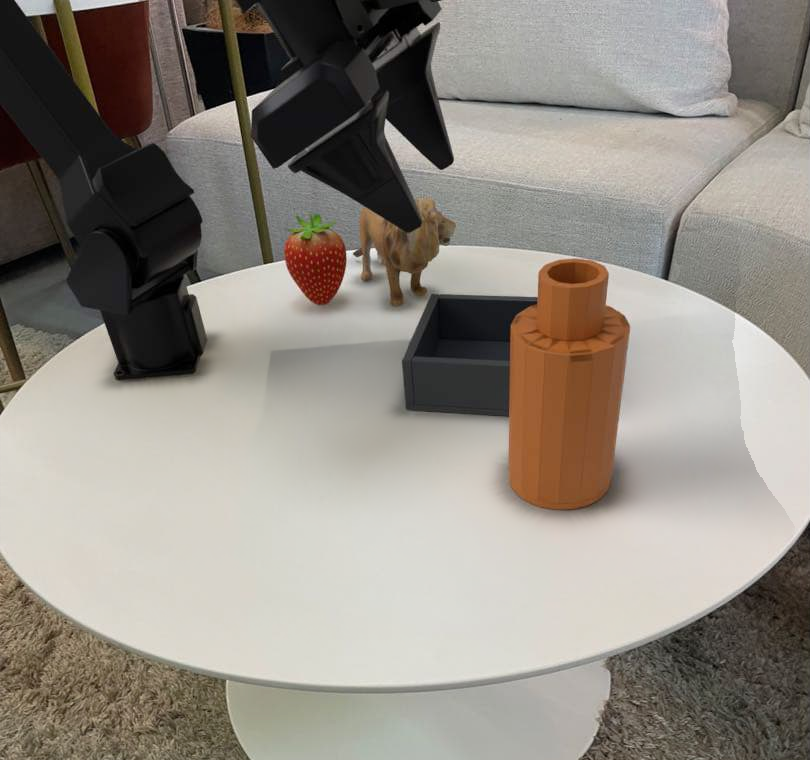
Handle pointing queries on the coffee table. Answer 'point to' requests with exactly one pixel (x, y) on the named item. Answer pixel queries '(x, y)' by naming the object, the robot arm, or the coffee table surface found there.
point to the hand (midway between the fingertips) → (432, 195)
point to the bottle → (566, 387)
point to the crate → (462, 354)
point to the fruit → (316, 259)
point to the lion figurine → (403, 246)
